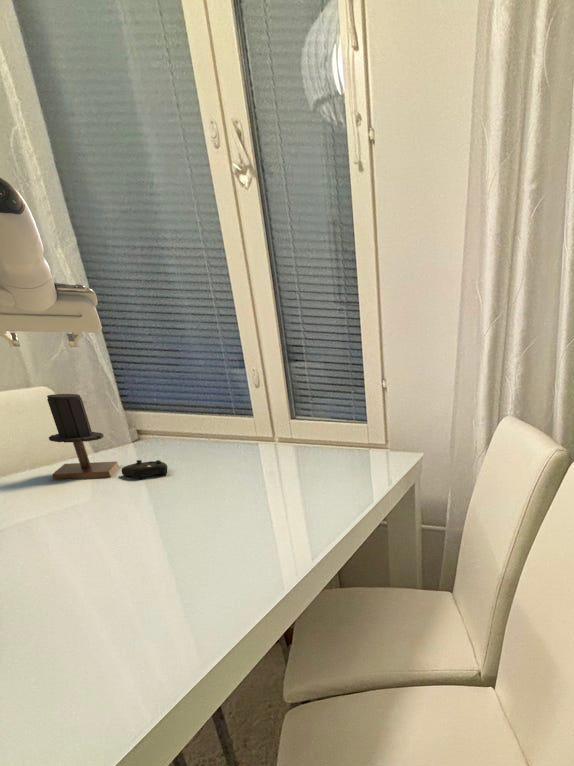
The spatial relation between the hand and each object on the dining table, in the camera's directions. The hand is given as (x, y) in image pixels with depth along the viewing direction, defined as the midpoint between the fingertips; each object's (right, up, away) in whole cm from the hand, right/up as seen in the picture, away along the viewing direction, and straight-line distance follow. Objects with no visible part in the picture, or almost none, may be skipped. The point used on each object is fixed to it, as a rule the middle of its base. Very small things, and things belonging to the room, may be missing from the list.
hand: (45, 344), depth 106 cm
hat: (-7, -11, +19) cm, 23 cm away
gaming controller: (+6, -19, +23) cm, 30 cm away
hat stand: (-8, -18, +22) cm, 30 cm away
